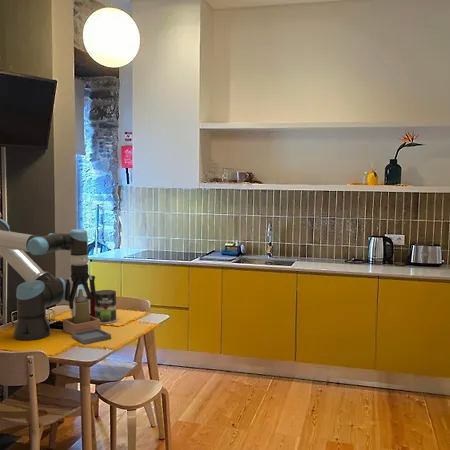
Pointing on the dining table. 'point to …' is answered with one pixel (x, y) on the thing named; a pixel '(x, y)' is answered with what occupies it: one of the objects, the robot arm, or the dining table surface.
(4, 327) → the dining table surface
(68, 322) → the box
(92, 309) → the plastic cup
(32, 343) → the dining table surface
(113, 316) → the coffee can
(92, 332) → the tray
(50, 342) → the dining table surface
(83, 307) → the squeeze bottle
